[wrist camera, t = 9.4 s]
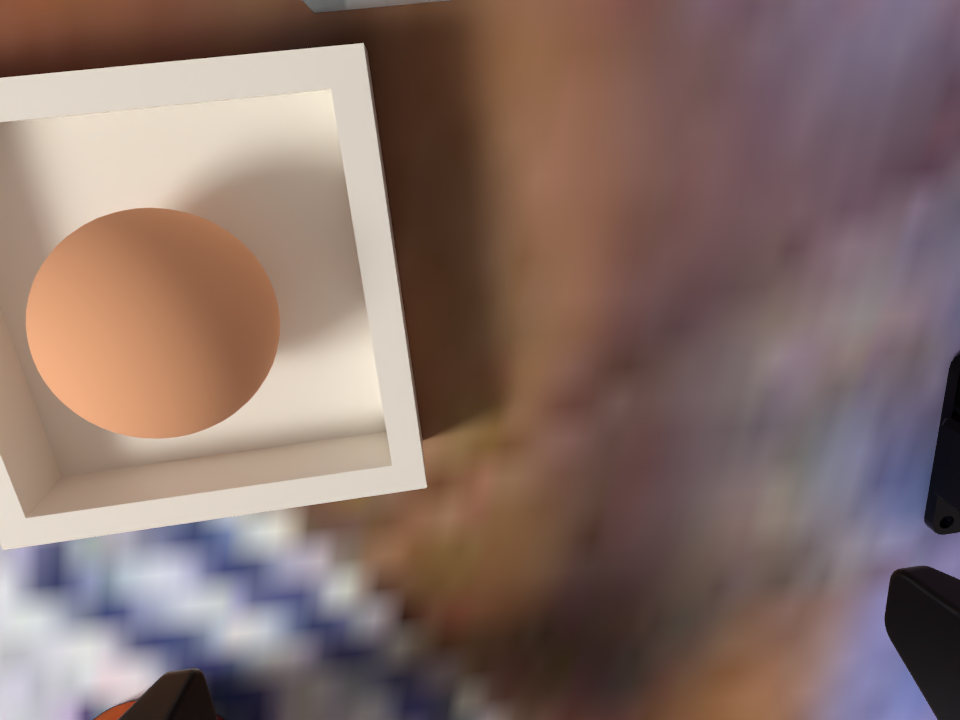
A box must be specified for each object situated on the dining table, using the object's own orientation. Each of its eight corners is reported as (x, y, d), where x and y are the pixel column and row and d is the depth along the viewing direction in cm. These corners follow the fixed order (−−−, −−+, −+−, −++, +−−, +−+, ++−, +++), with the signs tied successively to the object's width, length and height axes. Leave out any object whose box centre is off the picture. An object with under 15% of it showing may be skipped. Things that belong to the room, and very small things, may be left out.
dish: (367, 50, 17) (363, 42, 14) (422, 441, 20) (426, 487, 18) (-100, 95, 16) (-189, 96, 13) (50, 494, 20) (2, 549, 17)
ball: (308, 371, 19) (285, 461, 14) (116, 397, 18) (28, 500, 14) (269, 181, 17) (229, 214, 12) (55, 206, 16) (-72, 249, 12)
